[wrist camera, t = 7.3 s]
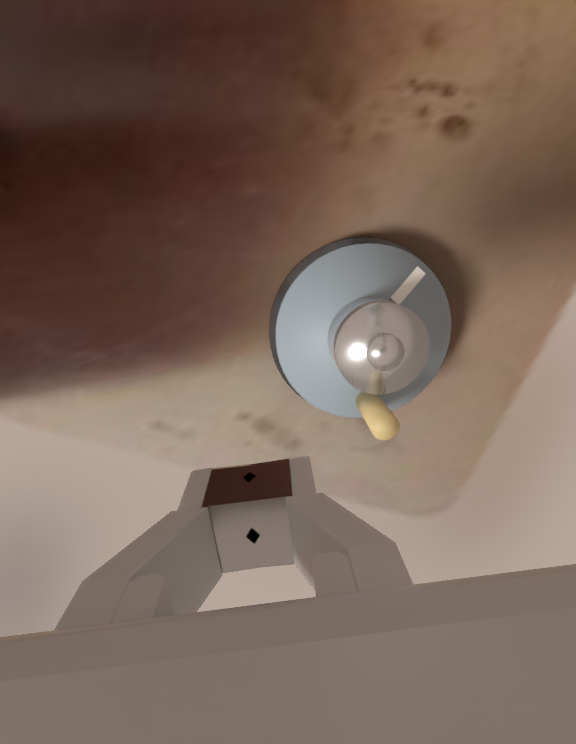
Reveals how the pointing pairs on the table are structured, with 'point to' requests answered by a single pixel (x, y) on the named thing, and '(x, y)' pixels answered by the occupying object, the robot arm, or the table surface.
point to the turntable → (327, 297)
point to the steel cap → (378, 345)
